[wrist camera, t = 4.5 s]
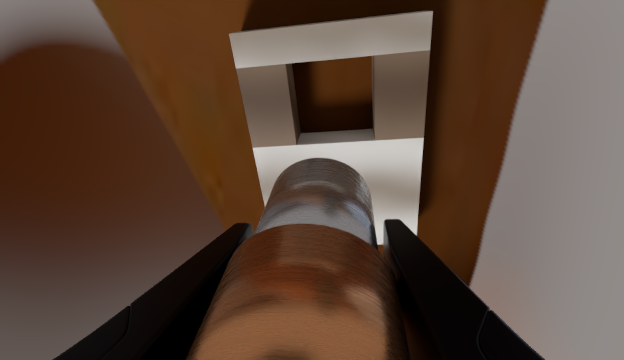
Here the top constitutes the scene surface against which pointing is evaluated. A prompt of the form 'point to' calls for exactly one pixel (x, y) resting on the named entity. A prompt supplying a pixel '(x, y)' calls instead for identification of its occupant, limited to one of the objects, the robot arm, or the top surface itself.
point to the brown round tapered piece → (308, 278)
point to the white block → (351, 143)
